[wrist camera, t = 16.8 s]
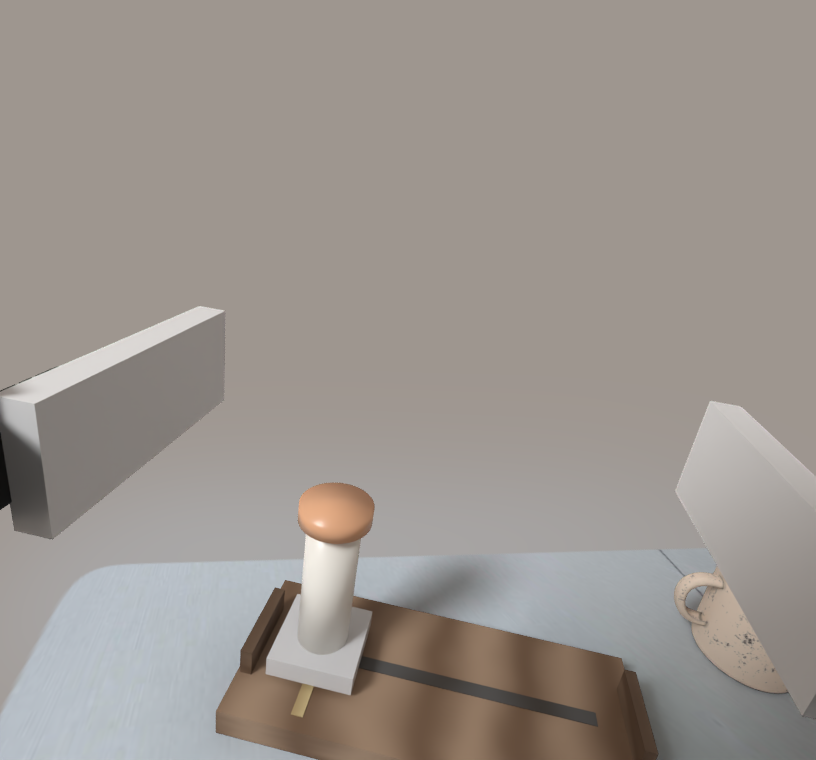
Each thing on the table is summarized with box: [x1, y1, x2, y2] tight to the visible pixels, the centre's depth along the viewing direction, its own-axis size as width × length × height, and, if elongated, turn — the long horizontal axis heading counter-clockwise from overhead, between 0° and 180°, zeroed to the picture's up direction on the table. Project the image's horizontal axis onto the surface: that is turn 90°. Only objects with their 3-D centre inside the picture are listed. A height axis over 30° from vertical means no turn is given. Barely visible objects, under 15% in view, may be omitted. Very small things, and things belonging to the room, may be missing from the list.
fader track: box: [216, 580, 658, 760], centre depth 38 cm, size 28×12×4 cm, turn 81°
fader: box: [266, 483, 374, 695], centre depth 37 cm, size 6×6×13 cm
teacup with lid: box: [674, 566, 788, 693], centre depth 46 cm, size 12×9×12 cm
